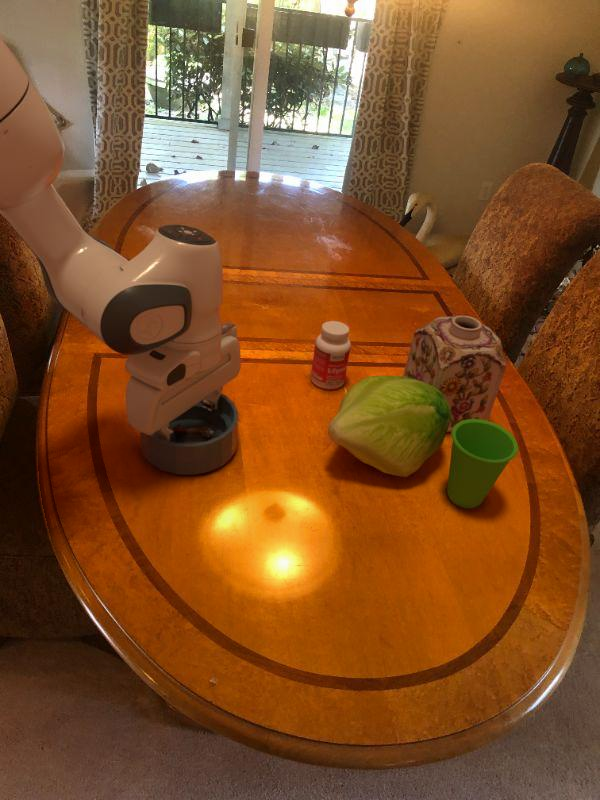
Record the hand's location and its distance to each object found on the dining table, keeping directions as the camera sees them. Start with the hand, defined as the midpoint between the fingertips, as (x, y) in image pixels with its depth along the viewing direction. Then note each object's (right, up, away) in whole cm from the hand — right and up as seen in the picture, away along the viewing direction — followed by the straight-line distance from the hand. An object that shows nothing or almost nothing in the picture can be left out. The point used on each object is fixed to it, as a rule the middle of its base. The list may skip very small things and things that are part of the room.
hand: (188, 425), depth 91 cm
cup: (+40, -11, -1) cm, 42 cm away
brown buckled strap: (+1, -3, +2) cm, 4 cm away
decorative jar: (+41, +1, +16) cm, 44 cm away
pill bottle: (+21, +7, +20) cm, 30 cm away
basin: (0, -3, +2) cm, 4 cm away
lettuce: (+29, -5, +5) cm, 30 cm away
